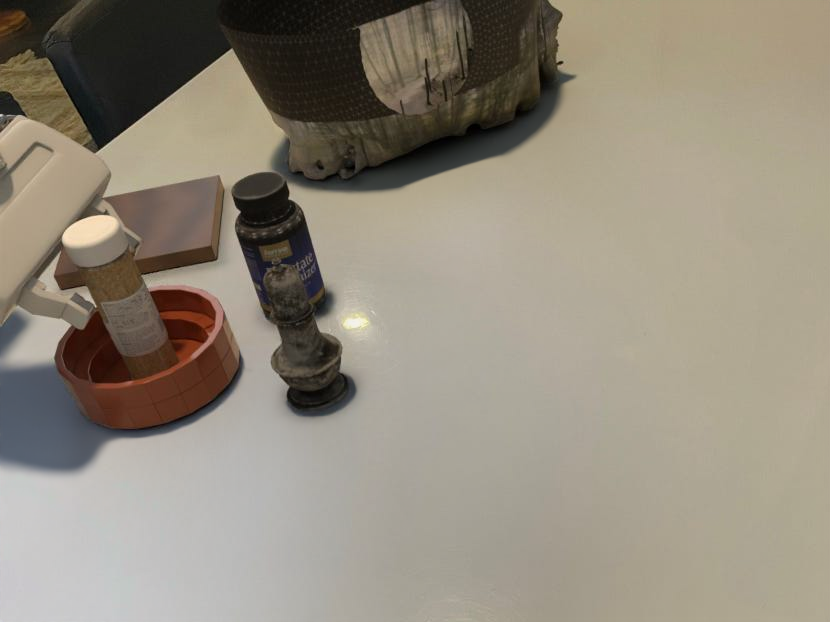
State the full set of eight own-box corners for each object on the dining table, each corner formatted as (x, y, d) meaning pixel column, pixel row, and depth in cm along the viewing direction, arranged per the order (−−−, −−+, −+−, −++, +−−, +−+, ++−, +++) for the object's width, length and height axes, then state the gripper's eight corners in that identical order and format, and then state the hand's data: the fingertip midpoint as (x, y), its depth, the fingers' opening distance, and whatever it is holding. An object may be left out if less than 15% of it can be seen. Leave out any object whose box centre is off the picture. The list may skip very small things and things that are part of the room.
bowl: (67, 446, 80) (41, 402, 76) (91, 346, 89) (68, 302, 85) (237, 414, 79) (218, 369, 76) (243, 317, 88) (227, 272, 85)
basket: (588, 155, 98) (579, -28, 86) (255, 210, 101) (198, 40, 88) (558, 47, 116) (547, -118, 103) (275, 96, 118) (231, -60, 106)
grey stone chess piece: (274, 385, 81) (226, 253, 72) (339, 360, 82) (299, 226, 73) (295, 422, 77) (248, 288, 68) (362, 396, 78) (324, 260, 69)
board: (60, 289, 96) (53, 276, 95) (81, 216, 105) (75, 202, 104) (216, 259, 95) (211, 245, 94) (224, 188, 105) (219, 174, 104)
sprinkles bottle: (136, 363, 85) (65, 218, 75) (186, 354, 85) (122, 207, 74) (129, 395, 82) (54, 249, 72) (181, 386, 82) (113, 238, 72)
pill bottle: (284, 330, 86) (244, 211, 77) (250, 305, 89) (208, 189, 81) (340, 299, 88) (307, 180, 79) (304, 276, 91) (269, 159, 83)
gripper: (-4, 135, 80) (150, 241, 85) (-142, 273, 68) (48, 386, 73) (15, 73, 75) (176, 189, 81) (-129, 210, 63) (72, 335, 69)
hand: (114, 284), depth 77 cm, fingers open, 8 cm apart
